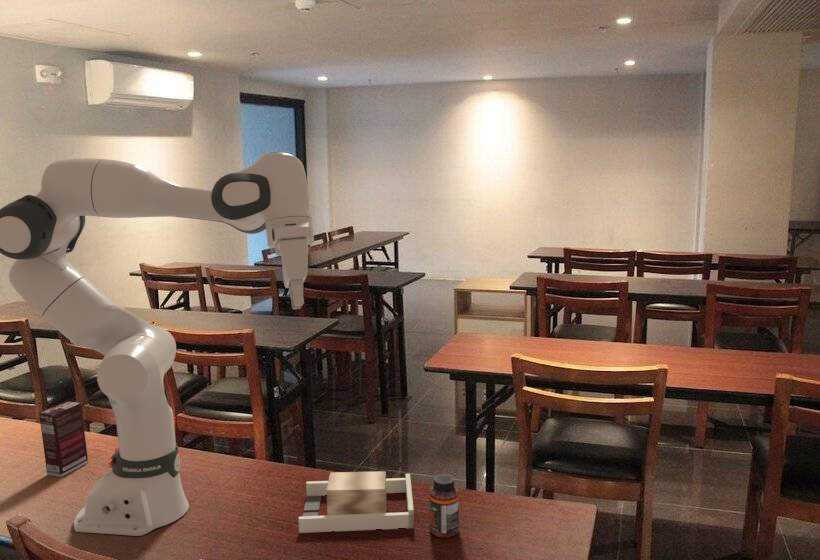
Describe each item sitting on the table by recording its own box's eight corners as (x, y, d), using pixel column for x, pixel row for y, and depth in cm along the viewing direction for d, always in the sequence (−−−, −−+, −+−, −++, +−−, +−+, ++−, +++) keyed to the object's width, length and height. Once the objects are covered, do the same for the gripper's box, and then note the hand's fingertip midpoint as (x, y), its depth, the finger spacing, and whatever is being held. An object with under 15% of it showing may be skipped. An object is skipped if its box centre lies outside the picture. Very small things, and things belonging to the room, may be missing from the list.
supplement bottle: (424, 527, 139) (423, 475, 137) (450, 520, 141) (450, 469, 139) (437, 542, 134) (436, 488, 131) (464, 535, 136) (464, 481, 134)
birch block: (327, 521, 142) (326, 490, 141) (331, 502, 150) (330, 472, 149) (385, 520, 142) (385, 489, 141) (386, 501, 150) (385, 471, 149)
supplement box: (74, 460, 173) (67, 400, 170) (89, 463, 171) (82, 402, 168) (45, 475, 165) (37, 412, 162) (60, 478, 163) (53, 414, 160)
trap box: (299, 532, 138) (298, 514, 137) (307, 494, 153) (306, 477, 153) (413, 528, 139) (413, 509, 138) (410, 490, 154) (409, 473, 154)
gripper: (273, 245, 142) (280, 312, 141) (274, 228, 122) (282, 305, 121) (303, 242, 143) (311, 308, 142) (309, 225, 123) (318, 301, 122)
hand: (298, 307), depth 131 cm, fingers open, 8 cm apart
